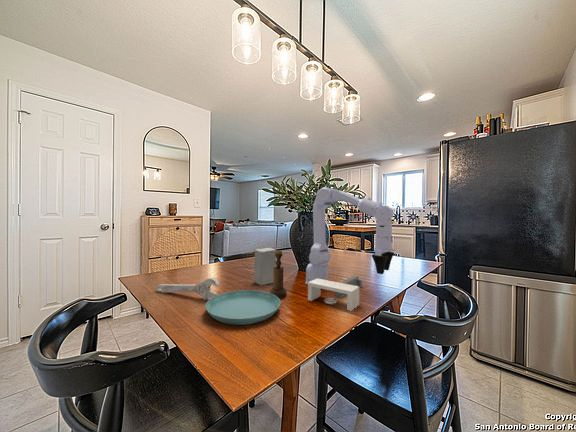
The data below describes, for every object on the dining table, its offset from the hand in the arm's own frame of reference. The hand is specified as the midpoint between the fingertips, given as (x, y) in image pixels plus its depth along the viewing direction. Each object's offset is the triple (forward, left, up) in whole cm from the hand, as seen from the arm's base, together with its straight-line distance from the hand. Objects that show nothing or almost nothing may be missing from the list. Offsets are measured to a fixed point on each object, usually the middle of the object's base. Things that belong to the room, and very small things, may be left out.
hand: (383, 271), depth 93 cm
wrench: (-61, -46, -10) cm, 77 cm away
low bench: (-13, -17, -10) cm, 24 cm away
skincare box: (-49, -14, -10) cm, 52 cm away
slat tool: (-14, -1, -10) cm, 17 cm away
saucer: (-33, -42, -11) cm, 54 cm away
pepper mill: (-33, -24, -10) cm, 42 cm away
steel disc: (-14, -17, -10) cm, 24 cm away
